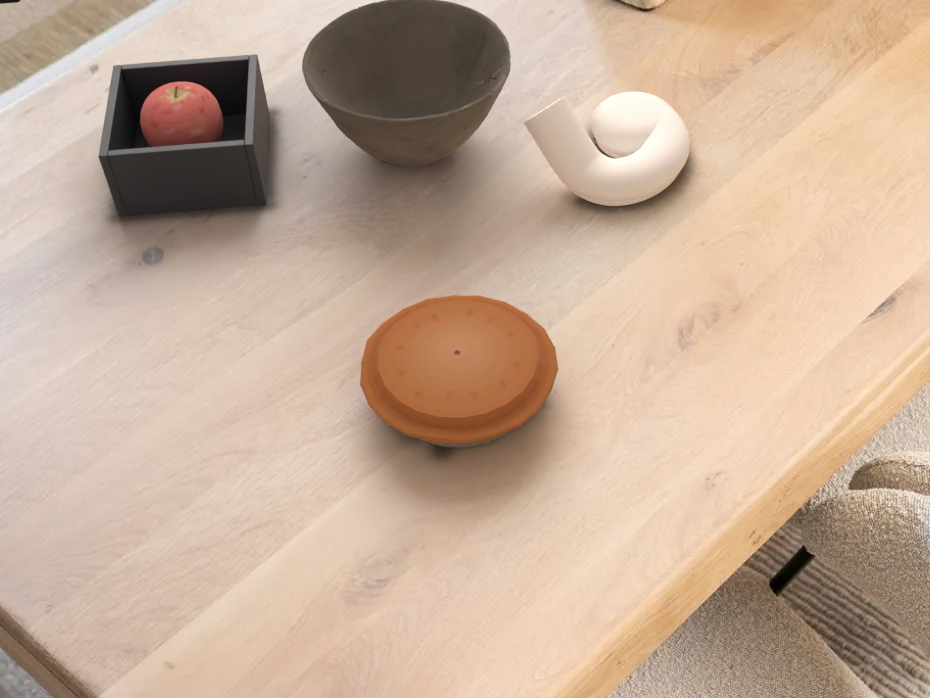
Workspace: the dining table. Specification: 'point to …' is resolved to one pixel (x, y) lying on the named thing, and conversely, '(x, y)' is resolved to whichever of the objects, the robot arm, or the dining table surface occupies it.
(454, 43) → the bowl
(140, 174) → the bin
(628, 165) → the sculpture
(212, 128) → the apple
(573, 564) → the dining table surface
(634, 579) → the dining table surface
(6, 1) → the robot arm
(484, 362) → the pie
